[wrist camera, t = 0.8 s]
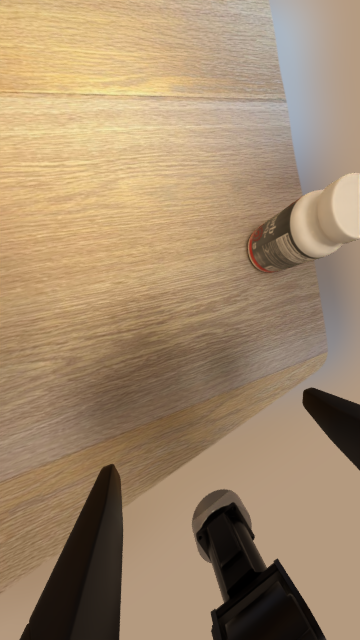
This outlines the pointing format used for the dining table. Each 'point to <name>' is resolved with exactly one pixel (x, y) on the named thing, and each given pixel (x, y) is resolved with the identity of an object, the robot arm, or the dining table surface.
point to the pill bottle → (309, 227)
